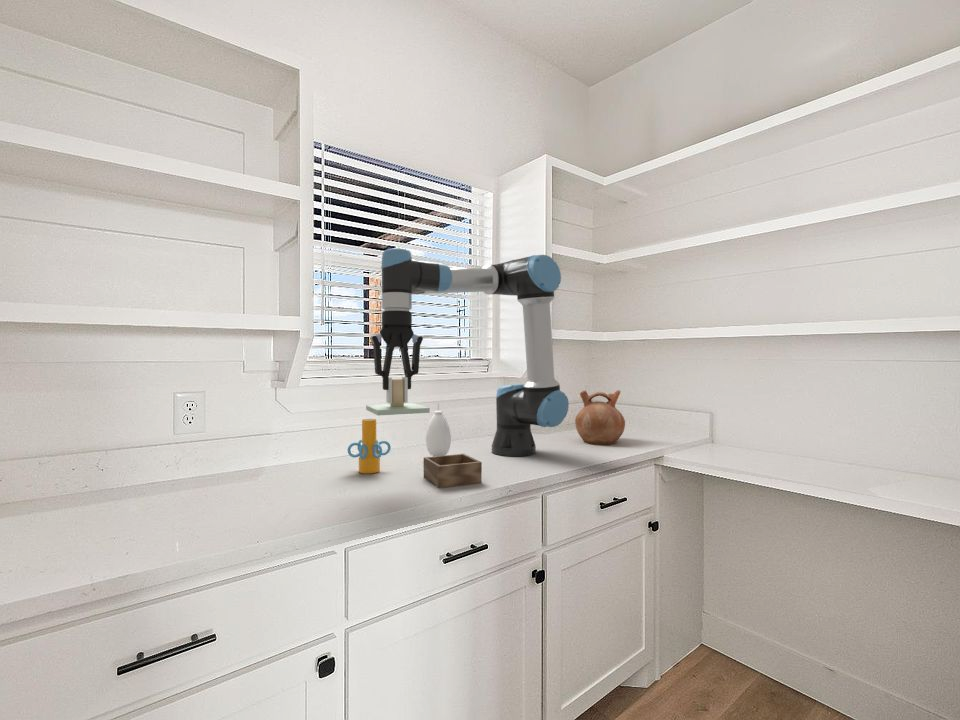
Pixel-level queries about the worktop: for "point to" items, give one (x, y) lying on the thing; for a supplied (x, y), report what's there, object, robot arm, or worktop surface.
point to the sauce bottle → (438, 435)
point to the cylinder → (369, 448)
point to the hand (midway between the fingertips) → (397, 402)
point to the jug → (600, 419)
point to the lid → (397, 403)
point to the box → (452, 470)
